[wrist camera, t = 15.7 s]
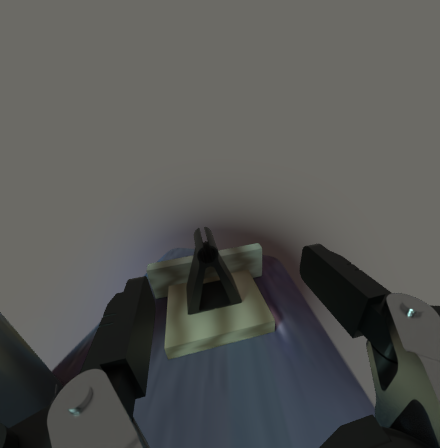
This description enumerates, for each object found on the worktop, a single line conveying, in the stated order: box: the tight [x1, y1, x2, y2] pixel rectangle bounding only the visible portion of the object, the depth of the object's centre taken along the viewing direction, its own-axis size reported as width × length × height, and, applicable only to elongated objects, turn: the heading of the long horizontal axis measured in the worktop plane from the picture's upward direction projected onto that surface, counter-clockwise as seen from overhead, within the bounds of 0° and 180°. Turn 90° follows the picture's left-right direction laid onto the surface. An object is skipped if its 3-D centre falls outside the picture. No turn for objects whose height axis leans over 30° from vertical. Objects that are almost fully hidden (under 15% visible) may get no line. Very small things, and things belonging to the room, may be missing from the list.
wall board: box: [147, 243, 275, 359], centre depth 32 cm, size 22×14×7 cm, turn 102°
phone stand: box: [186, 227, 242, 315], centre depth 30 cm, size 9×6×12 cm, turn 101°
